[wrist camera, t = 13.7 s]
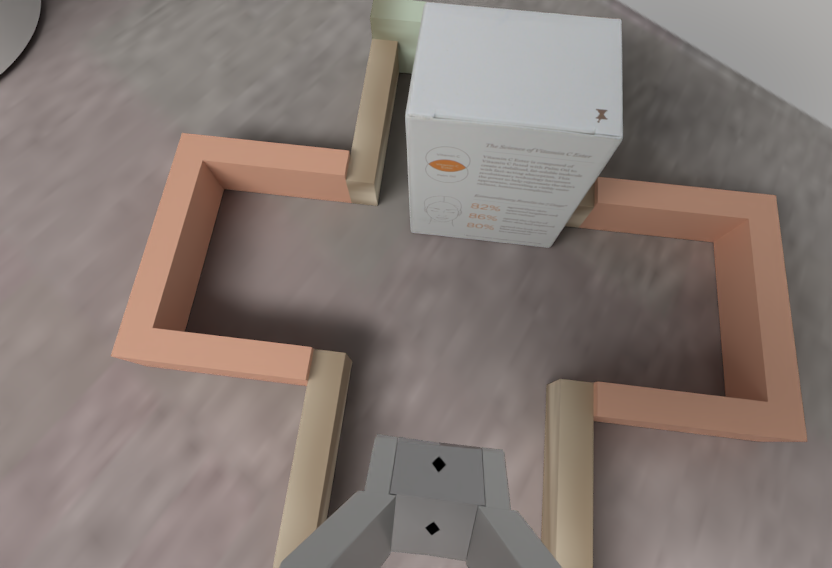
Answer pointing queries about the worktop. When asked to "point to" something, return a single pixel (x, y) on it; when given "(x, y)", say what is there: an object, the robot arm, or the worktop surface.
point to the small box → (509, 120)
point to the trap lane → (330, 371)
